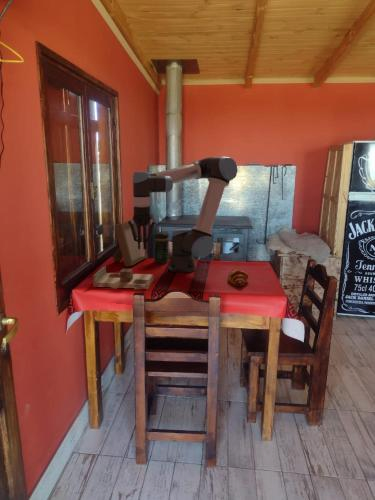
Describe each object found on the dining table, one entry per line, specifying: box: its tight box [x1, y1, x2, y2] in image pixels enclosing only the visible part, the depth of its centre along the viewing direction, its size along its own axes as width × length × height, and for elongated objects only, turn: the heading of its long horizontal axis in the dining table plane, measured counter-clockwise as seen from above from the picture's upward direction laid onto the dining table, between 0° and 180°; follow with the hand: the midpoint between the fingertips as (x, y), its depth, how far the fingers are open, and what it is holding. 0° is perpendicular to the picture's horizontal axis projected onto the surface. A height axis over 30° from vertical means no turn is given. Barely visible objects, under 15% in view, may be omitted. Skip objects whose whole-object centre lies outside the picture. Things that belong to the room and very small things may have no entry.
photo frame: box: [113, 220, 148, 267], centre depth 214 cm, size 15×22×25 cm
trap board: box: [92, 265, 154, 290], centre depth 177 cm, size 26×16×6 cm, turn 85°
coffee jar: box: [154, 230, 170, 264], centre depth 215 cm, size 10×8×19 cm
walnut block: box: [119, 268, 134, 282], centre depth 174 cm, size 5×5×5 cm
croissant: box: [227, 269, 249, 287], centre depth 181 cm, size 21×10×8 cm, turn 179°
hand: (142, 255), depth 169 cm, fingers closed
